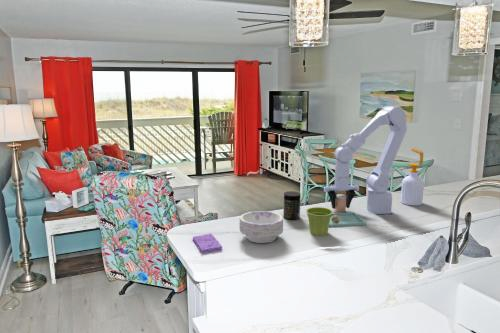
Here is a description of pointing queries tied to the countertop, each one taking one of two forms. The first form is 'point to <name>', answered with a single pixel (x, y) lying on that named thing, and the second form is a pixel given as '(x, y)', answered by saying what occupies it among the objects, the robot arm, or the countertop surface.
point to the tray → (347, 219)
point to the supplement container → (291, 205)
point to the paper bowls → (261, 226)
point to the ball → (335, 219)
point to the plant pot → (319, 220)
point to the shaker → (340, 203)
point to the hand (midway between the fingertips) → (340, 207)
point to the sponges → (207, 243)
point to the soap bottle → (413, 185)
